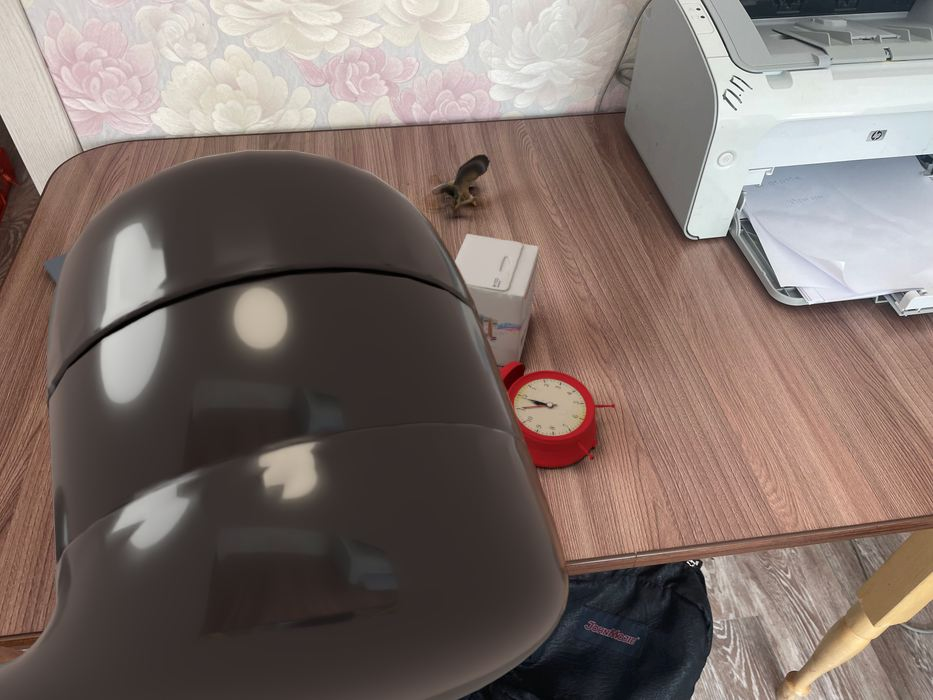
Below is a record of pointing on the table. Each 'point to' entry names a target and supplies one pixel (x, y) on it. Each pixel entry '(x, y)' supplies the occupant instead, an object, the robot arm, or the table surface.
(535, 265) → the ink box
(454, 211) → the eagle figurine
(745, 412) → the table surface
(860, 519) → the table surface
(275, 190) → the robot arm
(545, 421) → the alarm clock
